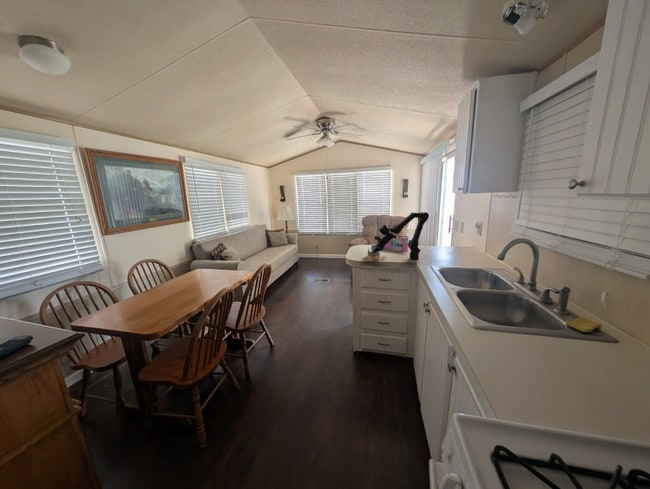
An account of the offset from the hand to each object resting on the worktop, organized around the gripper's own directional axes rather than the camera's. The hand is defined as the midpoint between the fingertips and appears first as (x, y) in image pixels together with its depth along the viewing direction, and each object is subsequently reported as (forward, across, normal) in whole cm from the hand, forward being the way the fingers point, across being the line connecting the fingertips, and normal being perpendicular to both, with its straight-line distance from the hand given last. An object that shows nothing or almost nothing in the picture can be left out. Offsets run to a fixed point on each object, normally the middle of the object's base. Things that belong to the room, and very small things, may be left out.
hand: (373, 251), depth 205 cm
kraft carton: (+2, 0, +7) cm, 7 cm away
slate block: (+3, 0, +5) cm, 6 cm away
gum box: (-9, -38, +19) cm, 43 cm away
